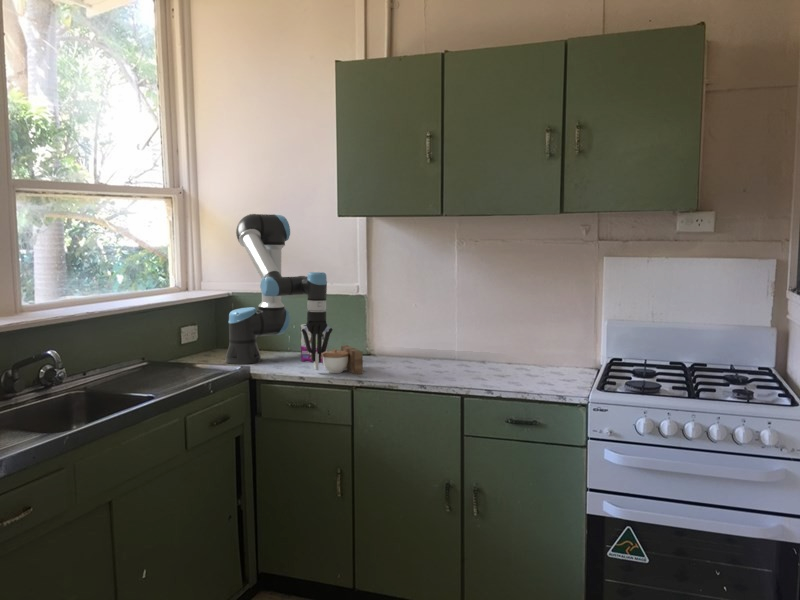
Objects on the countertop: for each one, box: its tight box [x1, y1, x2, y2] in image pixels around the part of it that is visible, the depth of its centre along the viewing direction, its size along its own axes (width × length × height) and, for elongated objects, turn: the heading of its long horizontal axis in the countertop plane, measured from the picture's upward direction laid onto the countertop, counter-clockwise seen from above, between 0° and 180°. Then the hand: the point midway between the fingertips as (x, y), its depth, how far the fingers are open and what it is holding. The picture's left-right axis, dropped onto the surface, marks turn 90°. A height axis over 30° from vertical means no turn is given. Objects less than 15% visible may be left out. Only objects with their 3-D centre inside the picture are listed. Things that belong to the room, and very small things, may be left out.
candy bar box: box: [300, 323, 329, 363], centre depth 287 cm, size 11×5×16 cm, turn 73°
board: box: [340, 344, 364, 375], centre depth 266 cm, size 18×3×9 cm, turn 24°
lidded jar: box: [322, 348, 349, 374], centre depth 263 cm, size 11×11×9 cm
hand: (316, 369), depth 260 cm, fingers closed
